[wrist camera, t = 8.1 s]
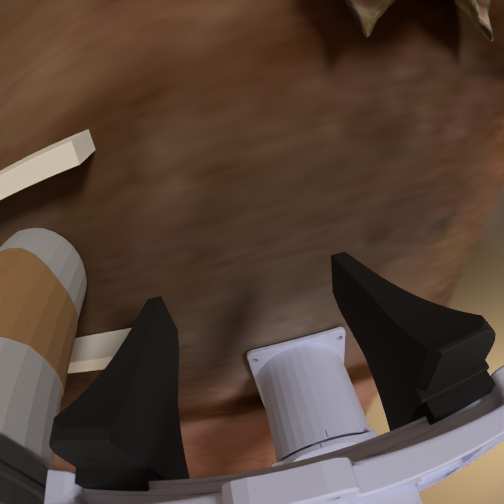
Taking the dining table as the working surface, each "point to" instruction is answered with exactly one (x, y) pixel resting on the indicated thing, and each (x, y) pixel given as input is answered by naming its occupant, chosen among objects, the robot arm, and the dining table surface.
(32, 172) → the dock
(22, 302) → the coffee cup
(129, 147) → the dining table surface
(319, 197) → the dining table surface
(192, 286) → the dining table surface
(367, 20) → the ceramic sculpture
